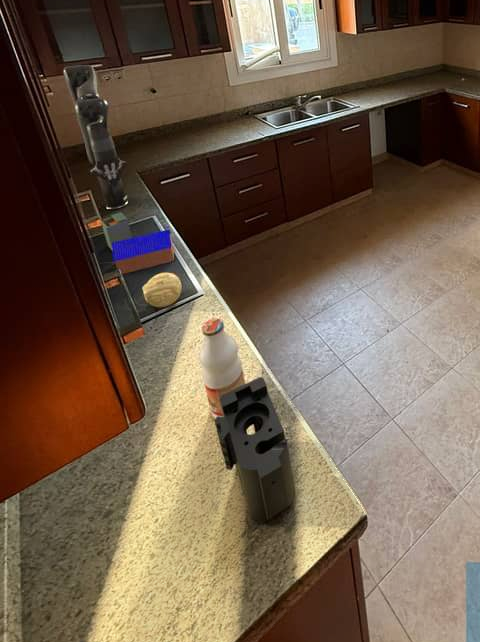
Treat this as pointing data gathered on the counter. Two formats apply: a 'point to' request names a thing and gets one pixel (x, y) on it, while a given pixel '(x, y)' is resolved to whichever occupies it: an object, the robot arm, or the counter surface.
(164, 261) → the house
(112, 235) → the chute
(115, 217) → the flap
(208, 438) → the counter surface
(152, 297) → the tan round lump
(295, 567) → the counter surface
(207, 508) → the counter surface
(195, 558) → the counter surface
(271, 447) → the black machined bracket
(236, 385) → the fruit juice
